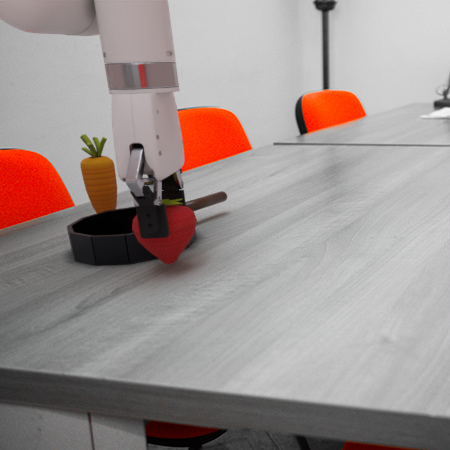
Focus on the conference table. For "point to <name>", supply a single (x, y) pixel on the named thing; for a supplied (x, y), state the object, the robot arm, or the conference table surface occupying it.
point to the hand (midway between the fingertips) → (165, 227)
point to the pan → (119, 235)
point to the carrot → (99, 176)
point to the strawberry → (178, 228)
